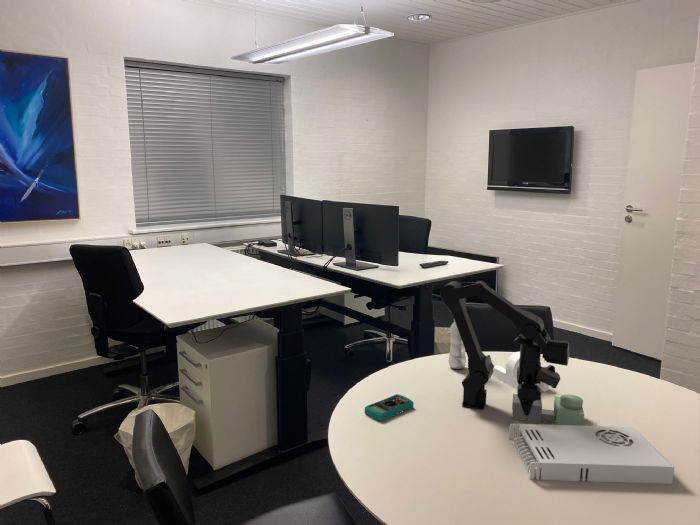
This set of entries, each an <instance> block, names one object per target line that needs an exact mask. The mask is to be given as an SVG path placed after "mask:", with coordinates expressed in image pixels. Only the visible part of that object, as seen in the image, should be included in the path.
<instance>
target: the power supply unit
mask: <svg viewBox="0 0 700 525" xmlns="http://www.w3.org/2000/svg"><path fill="white" fill-rule="evenodd" d="M508 430H509V432H508V440H510V441H511V444H512V445H513V447H514V449H515V451H516V453H517V455H518V456H519V458H520V461H521V463H522V464H523V466H524V468H525V470H526V472H527V474H528V476H529V477H528V480H535V479H536V480H538V481H539V479H540V480H541V481H567V482H568V481H569V482H580V480H581V481H582V482H586V481H587V482H600V483H603V482H604V483H608V482H609V483H630V484H631V483H635V484H637V483H639V484H663V485H665V484H667V485H669V484H670V485H671V484H673V481H674V480H673V479H674V472H675V466H674V464H673V463H672V462H671V461H669V460H668V459H667V457H665V455H663V454H662V453H661V452H660V451H659V450H658V449H657V447H656V446H655V445H653V444H652V443H651V441H649V440H648V439H647V438H646V437H645V436H644V435H643V434H642V433H641V432H640V431H639V430H638V429H637V428H636V427H635V426H613V425H611V426H610V425H609V426H607V425H606V426H605V425H601V426H600V425H583V426H577V425H556V424H540V423H539V424H537V423H536V424H534V423H533V424H532V423H530V424H529V423H510V425H509V429H508ZM514 430H515V432H514ZM518 431H519V434H518ZM518 435H519V436H518Z"/></svg>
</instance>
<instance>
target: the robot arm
mask: <svg viewBox="0 0 700 525" xmlns="http://www.w3.org/2000/svg"><path fill="white" fill-rule="evenodd" d="M439 296H440V298H441V300H442V302H443V304H444V306H445V307H446V309H448V310H449V312H450V313H451V315H452V317H453V321H454V320H455V323H456V326H457V328H458V331H459V334H460V337H461V339H462V342H463V345H464V348H465V354H466V356H467V370H468V374H467V375H466V376H465V377H464V379H462V381H461V384H462V388H463V392H462V393H463V395H462V403H461V406H462V407H465V408H473V409H479V410H484V409H485V405H487V392H488V390H487V389H486V384H487V383H488V382H489V380H490V379H491V377H493V376H492V374H493V368H494V366H495V365H494V364H493V362H492V357H491V355H490V354H487V355H486V354H484V352H483V351H482V349H481V347H480V343H479V341H478V337H477V335H476V332H475V330H474V328H473V326H474V325H473V324H472V321H471V318H470V315H469V313H468V310H467V298H473V297H478V298H479V299H481V300H482V301H483V302H484V303H485V304H487V305H488V306H490V307H491V308H493V309H494V310H496V312H498V313H499V314H500V315H501V316H503V317H504V318H506V319H507V320H509V322H511V324H512V326H514V328H515V329H516V331H518V332H519V333H520V334H519V335H518V336H517V337H516V338H515V339H514V340H513V343H514V344H518V345H520V348H519V349H520V350H519V352H520V358H519V367H518V368H517V382H518V388H517V389H516V394H517V397H518V398H519V401H520V403H521V406H522V409H523V411H524V414H525V415H527V416H528V415H529V413H530V410H531V408H532V405H533V402H534V401H536V400H541V401H542V391H541V389H540V387H539V386H538V385H536V384H540V383H541V382H543V383H545V384H547V385H549V387H551V388H552V389H557V387H558V385H559V383H560V381H561V375H560V374H559V372H557V371H556V367H555V365H560V366H564V367H565V366H566V367H567V366H568V364H569V359H570V358H569V357H570V343H569V342H570V341H568V340H556V339H551V335H550V334H549V333H548V332H547V330H546V328H545V324H544V320H543V319H542V317H540V316H538V315H536V314H534V313H533V312H530V311H528V310H525V309H522V308H520V307H518V306H517V305H516V304H514V303H512V302H511V301H510V300H508V299H507V298H506V297H504V296H503V295H501V294H500V293H499V292H497V291H496V290H494V289H493V288H492V287H490V286H489V285H487V283H486V282H484V281H483V280H478V281H472V282H471V281H470V282H469V281H468V282H459V281H456V280H455V281H450V282H448V283H447V284H445V285H444V286H442V287H441V289H440V291H439ZM541 355H542V359H543V361H545V362H546V363H548V364H549V363H550V364H549V365H547V366H542V363H541ZM553 364H555V365H553Z"/></svg>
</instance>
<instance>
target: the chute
mask: <svg viewBox="0 0 700 525" xmlns="http://www.w3.org/2000/svg"><path fill="white" fill-rule="evenodd" d="M542 402H543V401H542V399H541V400H536V401H534V402H533V405H532V408H531V410H530V413H529V415H528V416H527V415H525V414H524V411H523V409H522V406H521V403H520V401H519V398H518V397H517V393H512V402H511V403H512V405H511V410H512V412H511V413H512V414H511V419H514V420H520V421H521V420H522V421H528V422H537V423H541V422H542V420H541V416H542V409H543V403H542Z"/></svg>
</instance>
